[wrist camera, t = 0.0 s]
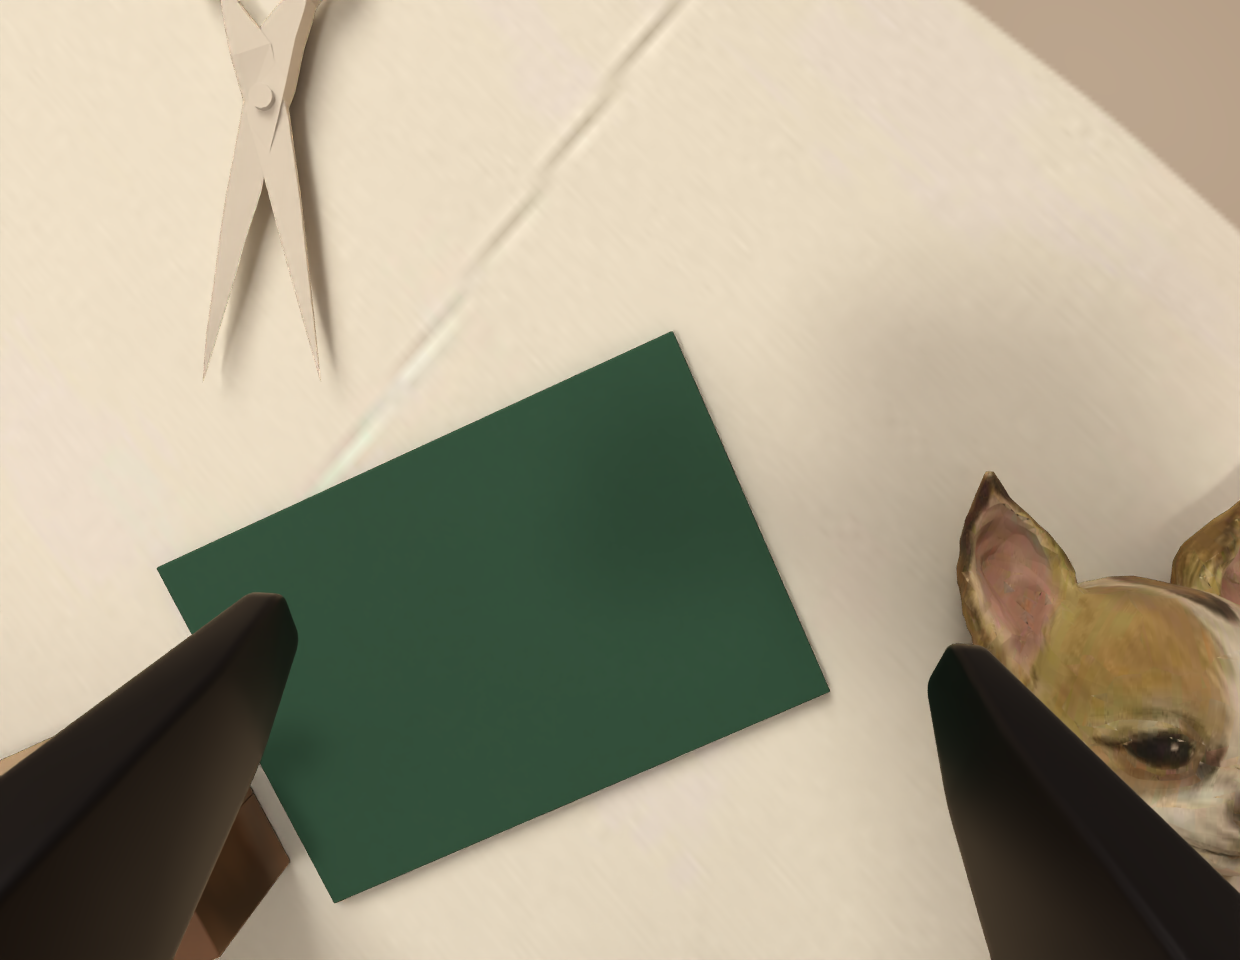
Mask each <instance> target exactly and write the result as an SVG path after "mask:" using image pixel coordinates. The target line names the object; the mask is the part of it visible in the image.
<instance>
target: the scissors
mask: <svg viewBox="0 0 1240 960" xmlns="http://www.w3.org/2000/svg"><path fill="white" fill-rule="evenodd" d="M220 1H221V7H222V13H223V20H224V26H225V31H226V36H227V41H228V46H229V51H230V56H231V59H232V63H233V66H234V70H235V73H236V77H237V80H238V84H239V87H240V91H241V94H242V98H243V101H244V103H243V108H242V113H241V118H240V124H239V129H238V134H237V139H236V145H235V150H234V155H233V161H232V166H231V171H230V176H229V182H228V187H227V193H226V199H225V206H224V212H223V219H222V225H221V232H220V239H219V247H218V255H217V263H216V271H215V278H214V285H213V292H212V298H211V305H210V312H209V319H208V325H207V332H206V345H205V359H204V373H203V381H204V378H205V374H206V371H207V368H208V365H209V361H210V358H211V355H212V352H213V348H214V345H215V342H216V339H217V335H218V332H219V329H220V326H221V322H222V319H223V316H224V313H225V309H226V306H227V303H228V300H229V296H230V293H231V290H232V287H233V283H234V280H235V277H236V273H237V269H238V266H239V262H240V258H241V255H242V251H243V247H244V244H245V240H246V237H247V234H248V231H249V228H250V225H251V222H252V219H253V216H254V212H255V209H256V206H257V203H258V200H259V197H260V194H261V191H262V186H263V180H265V184H266V187H267V191H268V195H269V199H270V202H271V206H272V210H273V214H274V218H275V221H276V225H277V229H278V233H279V236H280V240H281V244H282V248H283V251H284V255H285V258H286V262H287V265H288V269H289V272H290V276H291V279H292V283H293V286H294V290H295V293H296V297H297V300H298V304H299V307H300V311H301V314H302V318H303V321H304V325H305V328H306V332H307V335H308V339H309V342H310V346H311V349H312V353H313V357H314V360H315V364H316V367H317V371H318V374H319V378H320V370H319V360H318V350H317V341H316V331H315V321H314V311H313V302H312V292H311V282H310V273H309V263H308V253H307V244H306V235H305V226H304V217H303V208H302V200H301V193H300V186H299V178H298V171H297V164H296V157H295V149H294V142H293V135H292V128H291V120H290V114H289V107H290V105H291V102H292V99H293V97H294V94H295V91H296V86H297V82H298V77H299V72H300V68H301V63H302V58H303V54H304V49H305V45H306V42H307V39H308V36H309V33H310V30H311V27H312V24H313V20H314V16H315V12H316V8H317V7H318V5H319V4H320V3H321V1H322V0H282V1H281V2H280V3H279V4H278V5H277V6H276V7H275V9H274V10H273V11H272V12H271V14H270V15H269V16H268V17H267V19H266V20H265V21H264V22H263V23H262V25H261V29H260V27H259V26H258V25H257V24H256V22H255V21H254V20H253V18H252V17H251V16H250V15H249V13H248V12H247V11H246V10H245V8H244V7H243V6H242V5H241V3H240V2H239V1H238V0H220ZM320 381H321V379H320Z"/></svg>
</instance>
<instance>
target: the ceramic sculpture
mask: <svg viewBox="0 0 1240 960" xmlns="http://www.w3.org/2000/svg"><path fill="white" fill-rule="evenodd" d="M956 569H957V584H958V586H959V590H960V595H961V600H962V611H963V616H964V618H965V621H966V626H967V629H968V631H969V632H970V634H971V636H972V642H973V645H979V646H982V647H984V648H986V649H987V650H989V651H990V652H991V653H992V654H993V655H994V656H995V657H996V658H997V659H998V660H999V661H1000V662H1001V663H1002V664H1003V665H1004V666H1005V667H1006V668H1007V669H1008V670H1009V671H1010V672H1012V673H1013V674H1014V675H1015V676H1016V677H1017V678H1018V679H1019V680H1020V681H1021V682H1022V683H1023V684H1024V685H1025V686H1026V687H1027V688H1028V689H1029V690H1030V691H1031V692H1032V693H1033V694H1034V695H1035V696H1036V697H1037V698H1038V699H1039V700H1041V701H1042V702H1043V703H1044V704H1045V705H1046V706H1047V707H1048V708H1049V709H1050V710H1051V711H1052V712H1053V713H1054V714H1055V715H1056V716H1057V717H1058V718H1059V719H1060V720H1061V721H1062V722H1063V723H1064V724H1065V725H1066V726H1067V727H1068V728H1070V729H1071V730H1072V731H1073V732H1074V733H1075V734H1076V735H1077V736H1078V737H1079V738H1080V739H1081V740H1082V741H1083V742H1084V743H1085V744H1086V745H1087V746H1088V747H1089V748H1090V749H1091V750H1092V751H1093V752H1094V753H1095V754H1096V755H1097V756H1099V757H1100V758H1101V759H1102V760H1103V761H1104V762H1105V763H1106V764H1107V765H1108V766H1109V767H1110V768H1111V769H1112V770H1113V771H1114V772H1115V773H1116V774H1117V775H1118V776H1119V777H1120V778H1121V779H1122V780H1123V781H1124V782H1125V783H1127V784H1128V785H1129V786H1130V787H1131V788H1132V789H1133V790H1134V791H1135V792H1136V793H1137V794H1138V795H1139V796H1140V797H1141V798H1142V799H1143V800H1144V801H1145V802H1146V803H1147V804H1148V805H1149V806H1150V807H1151V808H1152V809H1153V810H1154V811H1156V812H1157V813H1158V814H1159V815H1160V816H1161V817H1162V818H1163V819H1164V820H1165V821H1166V822H1167V823H1168V824H1169V825H1170V826H1171V827H1172V828H1173V829H1174V830H1175V831H1176V832H1177V833H1178V834H1179V835H1180V836H1181V837H1182V838H1183V839H1185V840H1186V841H1187V842H1188V843H1189V844H1190V845H1191V846H1192V847H1193V848H1194V849H1195V850H1196V851H1197V852H1198V853H1199V854H1200V855H1201V856H1202V857H1203V858H1204V859H1205V860H1206V861H1207V862H1208V863H1209V864H1210V865H1211V866H1213V867H1214V868H1215V869H1216V870H1217V871H1218V872H1219V873H1220V874H1221V875H1222V876H1223V877H1224V878H1225V879H1226V880H1227V881H1228V882H1229V883H1230V884H1231V885H1232V886H1233V887H1234V888H1235V889H1236V890H1237V891H1238V892H1239V893H1240V501H1239V502H1237V503H1236V504H1235V505H1234V506H1232V507H1231V508H1230V509H1229V510H1227V511H1226V512H1224V513H1223V514H1221V515H1219V516H1218V517H1216V518H1214V519H1213V520H1212V521H1210V522H1209V523H1208V524H1207V525H1205V526H1204V527H1203V528H1202V529H1200V530H1199V531H1198V532H1197V533H1195V534H1194V535H1193V536H1192V537H1190V538H1189V539H1188V540H1187V541H1185V542H1184V543H1183V544H1182V546H1181V547H1180V549H1179V551H1178V553H1177V554H1176V556H1175V558H1174V560H1173V564H1172V574H1171V583H1166V582H1162V581H1157V580H1153V579H1148V578H1142V577H1137V576H1114V577H1106V578H1101V579H1096V580H1091V581H1086V582H1081V583H1077V581H1076V577H1075V571H1074V569H1073V567H1072V565H1071V563H1070V561H1069V559H1068V557H1067V556H1066V554H1065V553H1064V551H1063V550H1062V549H1061V547H1060V546H1059V545H1058V544H1057V543H1056V541H1055V540H1054V539H1053V538H1052V537H1051V535H1050V534H1049V533H1048V532H1047V531H1046V530H1044V529H1043V528H1042V527H1041V526H1040V525H1039V524H1038V523H1037V522H1036V521H1035V520H1034V519H1033V518H1032V517H1031V516H1030V515H1029V514H1028V513H1026V512H1025V511H1024V510H1023V509H1022V508H1021V507H1020V506H1019V505H1017V504H1016V503H1015V502H1014V501H1013V500H1012V499H1011V498H1010V497H1009V495H1008V493H1007V492H1006V490H1005V489H1004V487H1003V485H1002V484H1001V482H1000V481H999V479H998V478H997V476H996V475H995V473H994V472H986V473H985V474H984V476H983V479H982V481H981V483H980V486H979V488H978V490H977V493H976V495H975V498H974V500H973V503H972V505H971V508H970V510H969V513H968V515H967V517H966V519H965V523H964V527H963V530H962V534H961V538H960V554H959V560H958V564H957V567H956Z"/></svg>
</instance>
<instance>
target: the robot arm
mask: <svg viewBox="0 0 1240 960" xmlns="http://www.w3.org/2000/svg"><path fill="white" fill-rule="evenodd" d="M297 646H298V632H297V629H296V626H295V623H294V621H293V618H292V615H291V612H290V610H289V607H288V604H287V602H286V600H285V598H284V597H283V596H282V595H280V594H274V593H261V592H253V593H250V594H248V595H245V596H244V597H242V598H241V599H240V600H238V601H237V602H236V603H234V604H233V605H232V606H230V607H229V608H227V609H226V610H225V611H223V612H222V613H221V614H219V615H218V616H217V617H215V618H214V619H213V620H211V621H210V622H208V623H207V624H206V625H204V626H203V627H202V628H200V629H199V630H198V631H196V632H195V633H194V634H192V635H191V636H189V637H188V638H187V639H185V640H184V641H183V642H181V643H180V644H179V645H177V646H176V647H175V648H173V649H172V650H170V651H169V652H168V653H166V654H165V655H164V656H162V657H161V658H160V659H158V660H157V661H156V662H154V663H153V664H151V665H150V666H149V667H147V668H146V669H145V670H143V671H142V672H141V673H139V674H138V675H137V676H135V677H134V678H132V679H131V680H130V681H128V682H127V683H126V684H124V685H123V686H122V687H120V688H119V689H118V690H116V691H115V692H113V693H112V694H111V695H109V696H108V697H107V698H105V699H104V700H103V701H101V702H100V703H99V704H97V705H96V706H94V707H93V708H92V709H90V710H89V711H88V712H86V713H85V714H84V715H82V716H81V717H80V718H78V719H77V720H75V721H74V722H73V723H71V724H70V725H69V726H67V727H66V728H65V729H63V730H62V731H61V732H59V733H58V734H56V735H55V736H54V737H52V738H51V739H50V740H48V741H47V742H46V743H44V744H43V745H42V746H40V747H39V748H37V749H36V750H35V751H33V752H32V753H31V754H29V755H28V756H27V757H25V758H24V759H23V760H21V761H20V762H18V763H17V764H16V765H14V766H13V767H12V768H10V769H9V770H8V771H6V772H5V773H4V774H2V775H1V776H0V960H173V959H174V957H175V954H176V952H177V950H178V947H179V945H180V943H181V941H182V938H183V936H184V934H185V932H186V929H187V927H188V925H189V923H190V920H191V918H192V916H193V914H194V911H195V909H196V907H197V904H198V902H199V900H200V898H201V895H202V893H203V891H204V889H205V886H206V884H207V882H208V880H209V877H210V875H211V873H212V870H213V868H214V866H215V864H216V861H217V859H218V857H219V855H220V852H221V850H222V848H223V846H224V843H225V841H226V839H227V836H228V834H229V832H230V830H231V827H232V825H233V823H234V821H235V818H236V816H237V814H238V812H239V809H240V807H241V805H242V803H243V800H244V798H245V796H246V793H247V791H248V789H249V787H250V784H251V782H252V780H253V778H254V775H255V773H256V771H257V768H258V766H259V763H260V761H261V758H262V756H263V753H264V750H265V748H266V745H267V742H268V739H269V736H270V733H271V730H272V726H273V723H274V720H275V717H276V714H277V711H278V707H279V704H280V701H281V698H282V695H283V692H284V689H285V685H286V682H287V679H288V676H289V673H290V670H291V666H292V663H293V660H294V657H295V654H296V651H297ZM928 699H929V705H930V711H931V717H932V722H933V728H934V734H935V740H936V745H937V751H938V757H939V763H940V769H941V774H942V780H943V786H944V791H945V796H946V801H947V806H948V809H949V813H950V817H951V821H952V825H953V828H954V832H955V835H956V839H957V842H958V845H959V849H960V852H961V856H962V859H963V863H964V866H965V870H966V873H967V877H968V880H969V884H970V887H971V891H972V894H973V898H974V901H975V905H976V908H977V912H978V915H979V919H980V922H981V926H982V929H983V933H984V936H985V940H986V943H987V946H988V950H989V953H990V957H991V960H1240V893H1239V892H1238V891H1237V890H1236V889H1235V888H1234V887H1233V886H1232V885H1231V884H1230V883H1229V882H1228V881H1227V880H1226V879H1225V878H1224V877H1223V876H1222V875H1221V874H1220V873H1219V872H1218V871H1217V870H1216V869H1215V868H1214V867H1213V866H1211V865H1210V864H1209V863H1208V862H1207V861H1206V860H1205V859H1204V858H1203V857H1202V856H1201V855H1200V854H1199V853H1198V852H1197V851H1196V850H1195V849H1194V848H1193V847H1192V846H1191V845H1190V844H1189V843H1188V842H1187V841H1186V840H1185V839H1183V838H1182V837H1181V836H1180V835H1179V834H1178V833H1177V832H1176V831H1175V830H1174V829H1173V828H1172V827H1171V826H1170V825H1169V824H1168V823H1167V822H1166V821H1165V820H1164V819H1163V818H1162V817H1161V816H1160V815H1159V814H1158V813H1157V812H1156V811H1154V810H1153V809H1152V808H1151V807H1150V806H1149V805H1148V804H1147V803H1146V802H1145V801H1144V800H1143V799H1142V798H1141V797H1140V796H1139V795H1138V794H1137V793H1136V792H1135V791H1134V790H1133V789H1132V788H1131V787H1130V786H1129V785H1128V784H1127V783H1125V782H1124V781H1123V780H1122V779H1121V778H1120V777H1119V776H1118V775H1117V774H1116V773H1115V772H1114V771H1113V770H1112V769H1111V768H1110V767H1109V766H1108V765H1107V764H1106V763H1105V762H1104V761H1103V760H1102V759H1101V758H1100V757H1099V756H1097V755H1096V754H1095V753H1094V752H1093V751H1092V750H1091V749H1090V748H1089V747H1088V746H1087V745H1086V744H1085V743H1084V742H1083V741H1082V740H1081V739H1080V738H1079V737H1078V736H1077V735H1076V734H1075V733H1074V732H1073V731H1072V730H1071V729H1070V728H1068V727H1067V726H1066V725H1065V724H1064V723H1063V722H1062V721H1061V720H1060V719H1059V718H1058V717H1057V716H1056V715H1055V714H1054V713H1053V712H1052V711H1051V710H1050V709H1049V708H1048V707H1047V706H1046V705H1045V704H1044V703H1043V702H1042V701H1041V700H1039V699H1038V698H1037V697H1036V696H1035V695H1034V694H1033V693H1032V692H1031V691H1030V690H1029V689H1028V688H1027V687H1026V686H1025V685H1024V684H1023V683H1022V682H1021V681H1020V680H1019V679H1018V678H1017V677H1016V676H1015V675H1014V674H1013V673H1012V672H1010V671H1009V670H1008V669H1007V668H1006V667H1005V666H1004V665H1003V664H1002V663H1001V662H1000V661H999V660H998V659H997V658H996V657H995V656H994V655H993V654H992V653H991V652H990V651H989V650H987V649H986V648H984V647H982V646H979V645H971V644H957V643H956V644H952V645H950V646H948V647H947V649H946V650H945V652H944V654H943V656H942V657H941V659H940V661H939V663H938V664H937V666H936V668H935V670H934V671H933V673H932V675H931V677H930V679H929V682H928Z"/></svg>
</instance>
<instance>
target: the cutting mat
mask: <svg viewBox="0 0 1240 960" xmlns="http://www.w3.org/2000/svg"><path fill="white" fill-rule="evenodd" d="M157 570H158V572H159V574H160V576H161V578H162V579H163V581H164V583H165V585H166V587H167V589H168V591H169V593H170V595H171V596H172V598H173V600H174V602H175V604H176V606H177V608H178V610H179V612H180V613H181V615H182V617H183V619H184V621H185V623H186V625H187V627H188V628H189V630H190V632H191V634H194V633H195V632H196V631H198V630H199V629H200V628H202V627H203V626H204V625H206V624H207V623H208V622H210V621H211V620H213V619H214V618H215V617H217V616H218V615H219V614H221V613H222V612H223V611H225V610H226V609H227V608H229V607H230V606H232V605H233V604H234V603H236V602H237V601H238V600H240V599H241V598H242V597H244V596H245V595H248V594H250V593H253V592H261V593H274V594H280V595H282V596H283V597H284V598H285V600H286V602H287V604H288V607H289V610H290V612H291V615H292V618H293V621H294V623H295V626H296V629H297V632H298V646H297V651H296V654H295V657H294V660H293V663H292V666H291V670H290V673H289V676H288V679H287V682H286V685H285V689H284V692H283V695H282V698H281V701H280V704H279V707H278V711H277V714H276V717H275V720H274V723H273V726H272V730H271V733H270V736H269V739H268V742H267V745H266V748H265V750H264V753H263V756H262V758H261V761H260V764H261V766H262V768H263V770H264V772H265V774H266V776H267V777H268V779H269V781H270V783H271V785H272V787H273V789H274V791H275V793H276V794H277V796H278V798H279V800H280V802H281V804H282V806H283V808H284V810H285V811H286V813H287V815H288V817H289V819H290V821H291V823H292V825H293V827H294V828H295V830H296V832H297V834H298V836H299V838H300V840H301V842H302V843H303V845H304V847H305V849H306V851H307V853H308V855H309V857H310V859H311V860H312V862H313V864H314V866H315V868H316V870H317V872H318V874H319V876H320V877H321V879H322V881H323V883H324V885H325V887H326V889H327V891H328V893H329V894H330V896H331V898H332V900H333V902H334V903H337V902H339V901H342V900H344V899H346V898H349V897H351V896H353V895H356V894H358V893H360V892H363V891H365V890H367V889H370V888H372V887H374V886H377V885H379V884H381V883H384V882H386V881H388V880H391V879H393V878H395V877H398V876H400V875H402V874H405V873H407V872H409V871H412V870H414V869H416V868H419V867H421V866H423V865H426V864H428V863H430V862H433V861H435V860H437V859H440V858H442V857H444V856H447V855H449V854H451V853H454V852H456V851H458V850H461V849H463V848H466V847H468V846H470V845H473V844H475V843H477V842H480V841H482V840H484V839H487V838H489V837H491V836H494V835H496V834H498V833H501V832H503V831H505V830H508V829H510V828H512V827H515V826H517V825H519V824H522V823H524V822H526V821H529V820H531V819H533V818H536V817H538V816H540V815H543V814H545V813H547V812H550V811H552V810H554V809H557V808H559V807H561V806H564V805H566V804H568V803H571V802H573V801H575V800H578V799H580V798H582V797H585V796H587V795H589V794H592V793H594V792H597V791H599V790H601V789H604V788H606V787H608V786H611V785H613V784H615V783H618V782H620V781H622V780H625V779H627V778H629V777H632V776H634V775H636V774H639V773H641V772H643V771H646V770H648V769H650V768H653V767H655V766H657V765H660V764H662V763H664V762H667V761H669V760H671V759H674V758H676V757H678V756H681V755H683V754H685V753H688V752H690V751H692V750H695V749H697V748H699V747H702V746H704V745H706V744H709V743H711V742H713V741H716V740H718V739H720V738H723V737H725V736H728V735H730V734H732V733H735V732H737V731H739V730H742V729H744V728H746V727H749V726H751V725H753V724H756V723H758V722H760V721H763V720H765V719H767V718H770V717H772V716H774V715H777V714H779V713H781V712H784V711H786V710H788V709H791V708H793V707H795V706H798V705H800V704H802V703H805V702H807V701H809V700H812V699H814V698H816V697H819V696H821V695H823V694H826V693H828V692H830V689H829V687H828V685H827V683H826V680H825V678H824V676H823V673H822V671H821V669H820V667H819V664H818V662H817V660H816V657H815V655H814V653H813V651H812V648H811V646H810V644H809V641H808V639H807V637H806V635H805V632H804V630H803V628H802V625H801V623H800V621H799V619H798V616H797V614H796V612H795V609H794V607H793V605H792V603H791V600H790V598H789V596H788V593H787V591H786V589H785V587H784V584H783V582H782V580H781V577H780V575H779V573H778V571H777V568H776V566H775V564H774V561H773V559H772V557H771V555H770V552H769V550H768V548H767V545H766V543H765V541H764V539H763V536H762V534H761V532H760V529H759V527H758V525H757V523H756V520H755V518H754V516H753V513H752V511H751V509H750V507H749V504H748V502H747V500H746V497H745V495H744V493H743V491H742V488H741V486H740V484H739V481H738V479H737V477H736V475H735V472H734V470H733V468H732V465H731V463H730V461H729V459H728V456H727V454H726V452H725V449H724V447H723V445H722V443H721V440H720V438H719V436H718V433H717V431H716V429H715V427H714V424H713V422H712V420H711V417H710V415H709V413H708V411H707V408H706V406H705V404H704V401H703V399H702V397H701V395H700V392H699V390H698V388H697V385H696V383H695V381H694V379H693V376H692V374H691V372H690V369H689V367H688V365H687V363H686V360H685V358H684V356H683V353H682V351H681V349H680V347H679V344H678V342H677V340H676V337H675V335H674V333H673V332H672V331H671V332H669V333H667V334H665V335H662V336H660V337H658V338H656V339H654V340H652V341H649V342H647V343H645V344H643V345H641V346H638V347H636V348H634V349H632V350H630V351H628V352H625V353H623V354H621V355H619V356H617V357H615V358H612V359H610V360H608V361H606V362H604V363H601V364H599V365H597V366H595V367H593V368H591V369H588V370H586V371H584V372H582V373H580V374H578V375H575V376H573V377H571V378H569V379H567V380H564V381H562V382H560V383H558V384H556V385H554V386H551V387H549V388H547V389H545V390H543V391H540V392H538V393H536V394H534V395H532V396H530V397H527V398H525V399H523V400H521V401H519V402H517V403H514V404H512V405H510V406H508V407H506V408H503V409H501V410H499V411H497V412H495V413H493V414H490V415H488V416H486V417H484V418H482V419H480V420H477V421H475V422H473V423H471V424H469V425H466V426H464V427H462V428H460V429H458V430H456V431H453V432H451V433H449V434H447V435H445V436H443V437H440V438H438V439H436V440H434V441H432V442H429V443H427V444H425V445H423V446H421V447H419V448H416V449H414V450H412V451H410V452H408V453H405V454H403V455H401V456H399V457H397V458H395V459H392V460H390V461H388V462H386V463H384V464H382V465H379V466H377V467H375V468H373V469H371V470H368V471H366V472H364V473H362V474H360V475H358V476H355V477H353V478H351V479H349V480H347V481H345V482H342V483H340V484H338V485H336V486H334V487H331V488H329V489H327V490H325V491H323V492H321V493H318V494H316V495H314V496H312V497H310V498H307V499H305V500H303V501H301V502H299V503H297V504H294V505H292V506H290V507H288V508H286V509H284V510H281V511H279V512H277V513H275V514H273V515H270V516H268V517H266V518H264V519H262V520H260V521H257V522H255V523H253V524H251V525H249V526H247V527H244V528H242V529H240V530H238V531H236V532H233V533H231V534H229V535H227V536H225V537H223V538H220V539H218V540H216V541H214V542H212V543H209V544H207V545H205V546H203V547H201V548H199V549H196V550H194V551H192V552H190V553H188V554H186V555H183V556H181V557H179V558H177V559H175V560H172V561H170V562H168V563H166V564H164V565H162V566H159V567H158V568H157Z"/></svg>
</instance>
